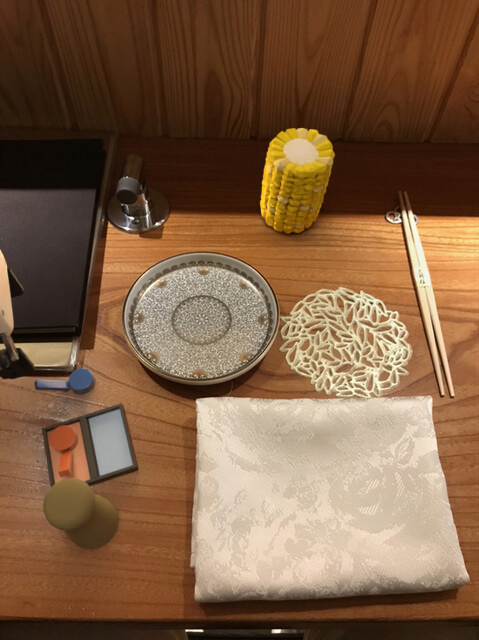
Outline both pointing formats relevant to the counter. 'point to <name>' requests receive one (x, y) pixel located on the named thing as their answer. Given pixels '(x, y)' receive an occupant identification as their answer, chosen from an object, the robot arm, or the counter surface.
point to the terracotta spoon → (64, 447)
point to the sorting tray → (95, 447)
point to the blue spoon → (69, 382)
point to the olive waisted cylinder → (81, 513)
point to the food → (295, 179)
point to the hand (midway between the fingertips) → (14, 332)
